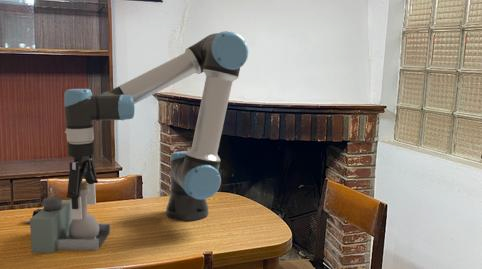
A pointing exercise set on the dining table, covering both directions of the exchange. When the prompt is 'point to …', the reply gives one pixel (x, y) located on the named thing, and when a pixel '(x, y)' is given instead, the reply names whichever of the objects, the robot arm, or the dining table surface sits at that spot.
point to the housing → (50, 224)
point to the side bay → (84, 240)
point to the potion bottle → (84, 220)
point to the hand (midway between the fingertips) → (84, 211)
